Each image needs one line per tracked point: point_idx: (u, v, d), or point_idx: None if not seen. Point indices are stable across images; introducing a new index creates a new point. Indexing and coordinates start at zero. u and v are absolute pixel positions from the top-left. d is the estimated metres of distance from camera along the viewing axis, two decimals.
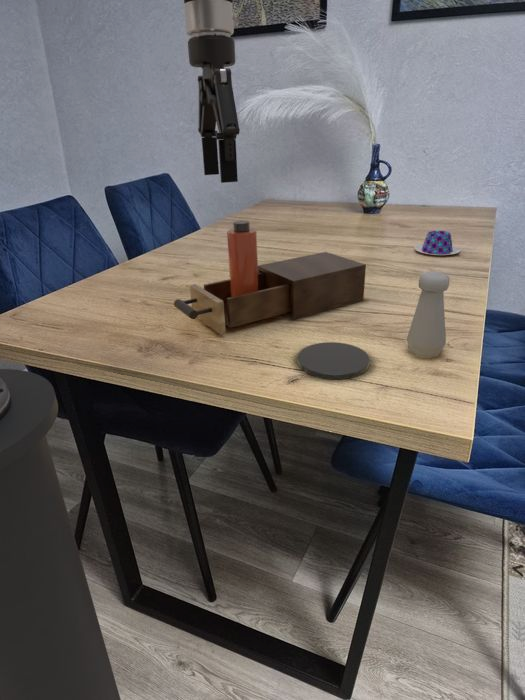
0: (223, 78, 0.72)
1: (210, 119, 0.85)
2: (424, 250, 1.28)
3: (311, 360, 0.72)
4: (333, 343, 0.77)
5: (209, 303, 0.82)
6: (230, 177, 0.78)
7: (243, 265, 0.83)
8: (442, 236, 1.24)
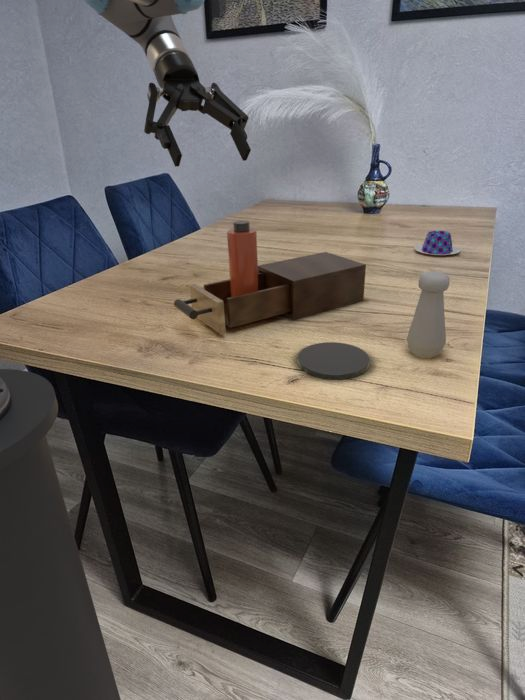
0: None
1: (169, 118, 0.85)
2: (424, 250, 1.28)
3: (311, 360, 0.72)
4: (333, 343, 0.77)
5: (209, 303, 0.82)
6: None
7: (243, 265, 0.83)
8: (442, 236, 1.24)
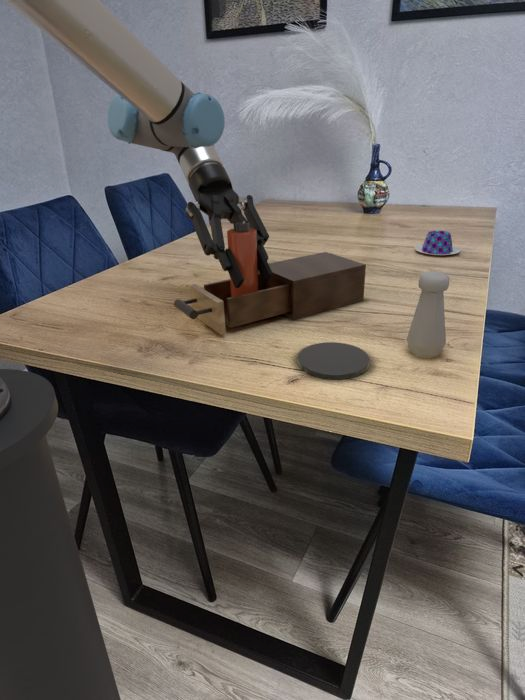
0: None
1: None
2: (424, 250, 1.28)
3: (311, 360, 0.72)
4: (333, 343, 0.77)
5: (209, 303, 0.82)
6: None
7: (243, 265, 0.83)
8: (442, 236, 1.24)
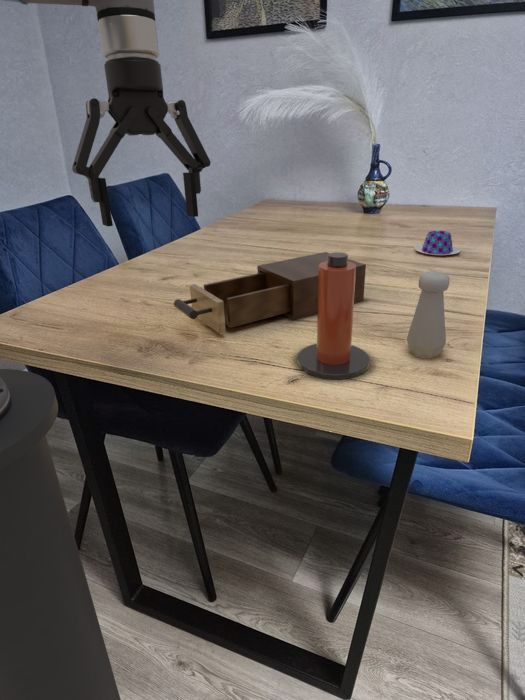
0: None
1: None
2: (424, 250, 1.28)
3: (311, 360, 0.72)
4: None
5: (209, 303, 0.82)
6: None
7: (339, 309, 0.66)
8: (442, 236, 1.24)
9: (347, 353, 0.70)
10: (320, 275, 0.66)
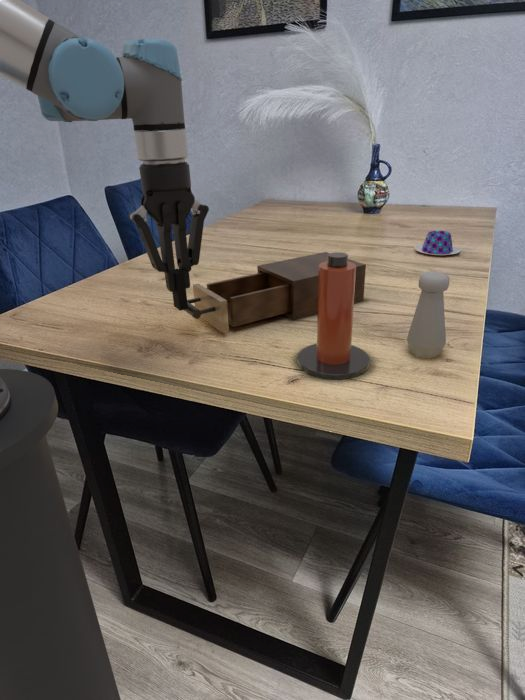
0: None
1: None
2: (424, 250, 1.28)
3: (311, 360, 0.72)
4: None
5: (212, 302, 0.82)
6: None
7: (339, 309, 0.66)
8: (442, 236, 1.24)
9: (347, 353, 0.70)
10: (320, 275, 0.66)
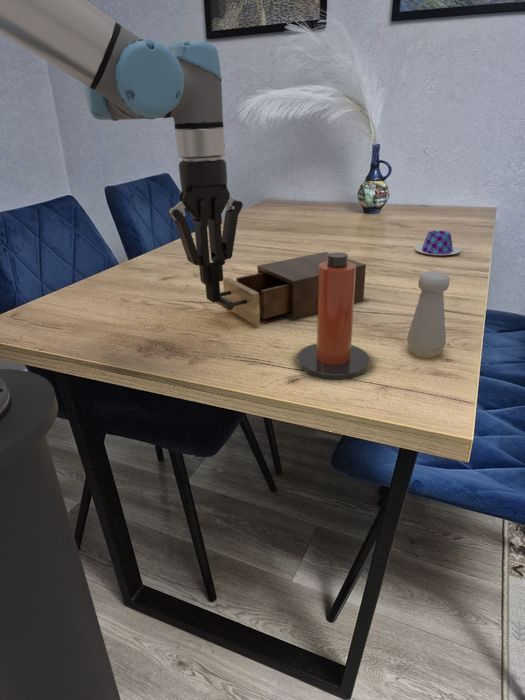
0: None
1: None
2: (424, 250, 1.28)
3: (311, 360, 0.72)
4: None
5: (244, 295, 0.85)
6: None
7: (339, 309, 0.66)
8: (442, 236, 1.24)
9: (347, 353, 0.70)
10: (320, 275, 0.66)
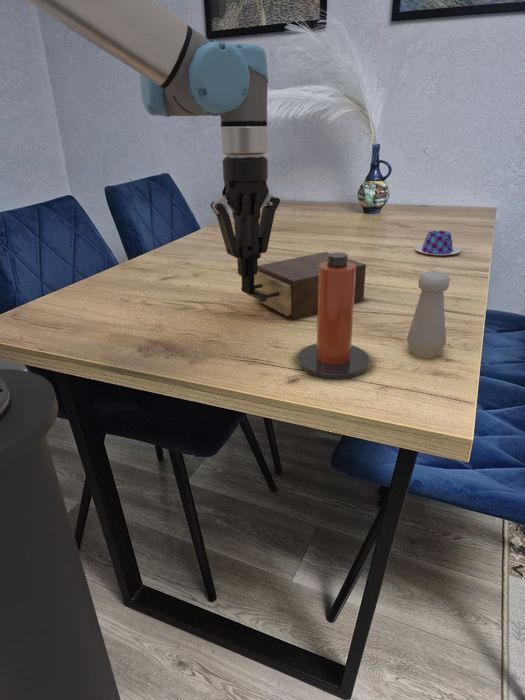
0: None
1: None
2: (424, 250, 1.28)
3: (311, 360, 0.72)
4: None
5: (276, 287, 0.88)
6: None
7: (339, 309, 0.66)
8: (442, 236, 1.24)
9: (347, 353, 0.70)
10: (320, 275, 0.66)
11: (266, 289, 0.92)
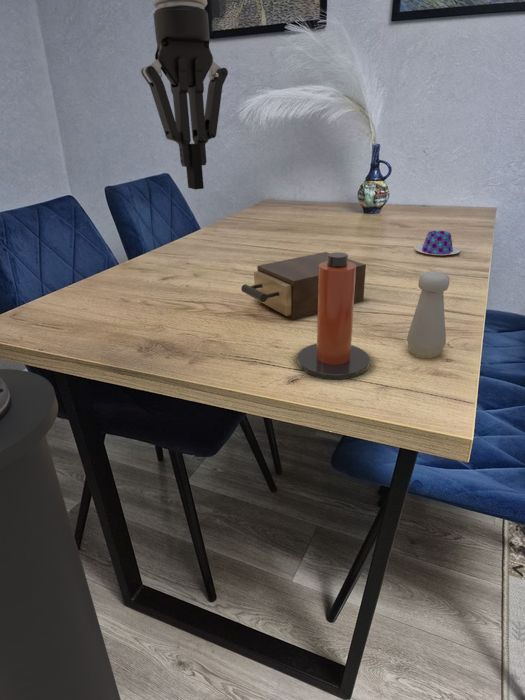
0: None
1: None
2: (424, 250, 1.28)
3: (311, 360, 0.72)
4: None
5: (276, 287, 0.88)
6: None
7: (339, 309, 0.66)
8: (442, 236, 1.24)
9: (347, 353, 0.70)
10: (320, 275, 0.66)
11: (266, 289, 0.92)
